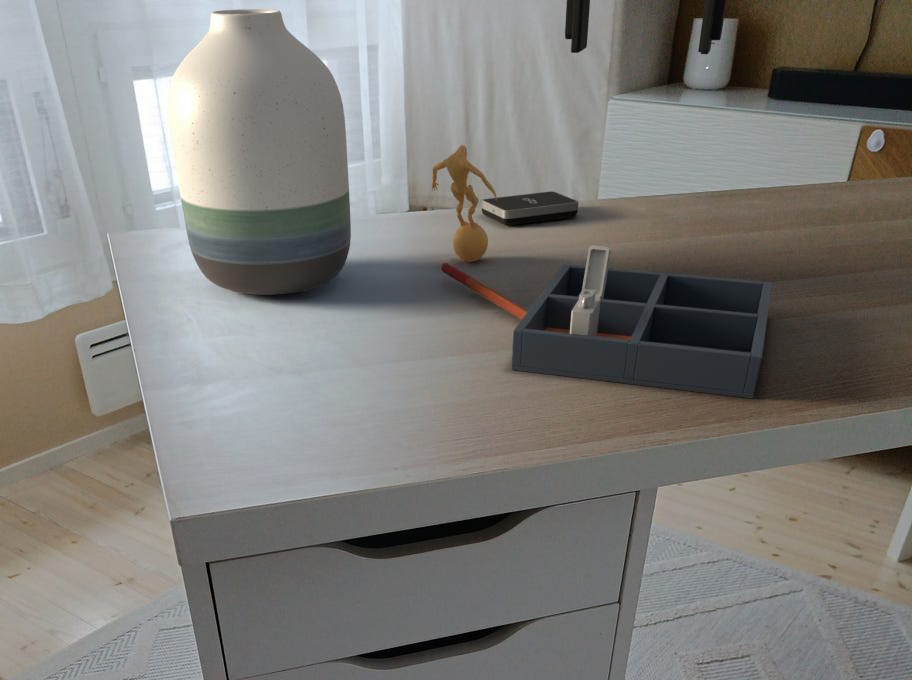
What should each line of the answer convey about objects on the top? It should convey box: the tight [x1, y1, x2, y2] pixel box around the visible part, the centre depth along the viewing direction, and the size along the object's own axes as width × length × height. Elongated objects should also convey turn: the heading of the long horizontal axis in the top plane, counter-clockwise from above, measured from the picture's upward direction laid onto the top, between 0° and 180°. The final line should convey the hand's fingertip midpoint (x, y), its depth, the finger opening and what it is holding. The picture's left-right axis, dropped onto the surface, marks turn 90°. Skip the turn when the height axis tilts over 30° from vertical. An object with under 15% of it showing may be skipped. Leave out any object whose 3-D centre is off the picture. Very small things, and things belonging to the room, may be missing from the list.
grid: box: [511, 263, 773, 399], centre depth 82 cm, size 20×20×3 cm
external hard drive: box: [481, 190, 579, 227], centre depth 119 cm, size 7×11×2 cm, turn 115°
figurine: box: [431, 144, 497, 263], centre depth 100 cm, size 8×6×12 cm
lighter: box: [570, 244, 612, 336], centre depth 78 cm, size 7×2×8 cm, turn 161°
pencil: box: [440, 262, 547, 328], centre depth 91 cm, size 19×1×1 cm
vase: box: [167, 8, 352, 296], centre depth 91 cm, size 17×17×24 cm
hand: (640, 51), depth 71 cm, fingers open, 9 cm apart
